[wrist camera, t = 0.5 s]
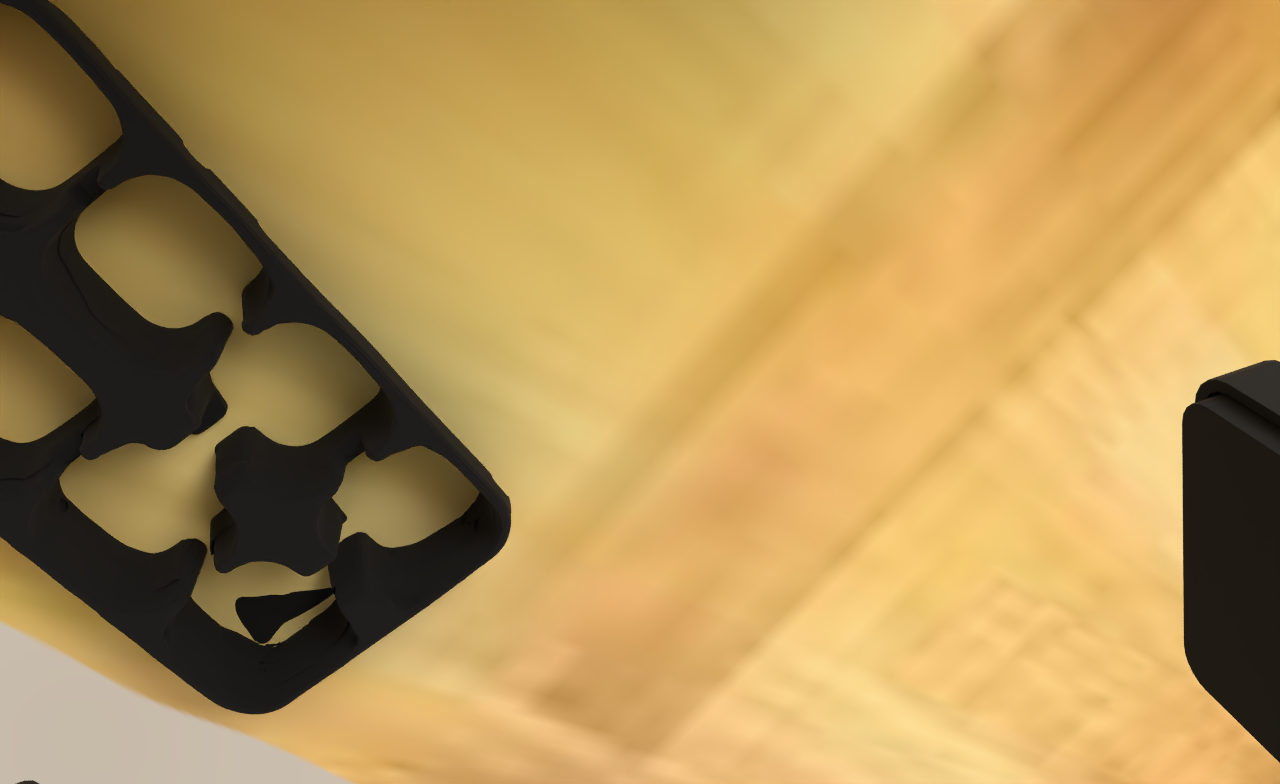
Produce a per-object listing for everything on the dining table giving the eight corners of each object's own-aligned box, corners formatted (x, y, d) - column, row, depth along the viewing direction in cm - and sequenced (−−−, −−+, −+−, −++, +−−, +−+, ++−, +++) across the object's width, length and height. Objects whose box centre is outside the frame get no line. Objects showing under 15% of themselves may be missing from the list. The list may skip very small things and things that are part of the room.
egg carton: (313, 692, 45) (311, 760, 42) (-600, 216, 32) (-709, 261, 28) (615, 366, 42) (639, 411, 39) (-250, -314, 29) (-325, -334, 25)
